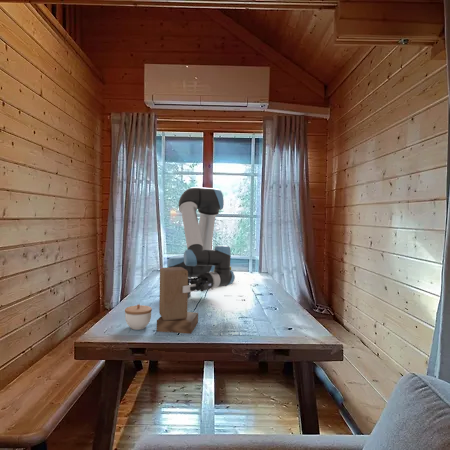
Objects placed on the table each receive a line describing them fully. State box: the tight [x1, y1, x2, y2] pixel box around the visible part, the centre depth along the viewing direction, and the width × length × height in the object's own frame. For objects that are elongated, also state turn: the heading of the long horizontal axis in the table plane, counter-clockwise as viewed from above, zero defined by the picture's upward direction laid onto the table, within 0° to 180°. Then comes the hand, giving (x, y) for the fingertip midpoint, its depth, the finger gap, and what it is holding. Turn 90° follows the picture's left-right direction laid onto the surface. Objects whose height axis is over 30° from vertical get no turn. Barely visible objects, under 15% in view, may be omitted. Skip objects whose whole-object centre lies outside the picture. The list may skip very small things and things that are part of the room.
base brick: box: [156, 311, 199, 335], centre depth 143 cm, size 14×14×5 cm
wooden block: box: [158, 266, 189, 321], centre depth 141 cm, size 10×10×20 cm
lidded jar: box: [124, 303, 153, 331], centre depth 141 cm, size 11×11×9 cm
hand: (172, 287), depth 140 cm, fingers open, 13 cm apart
